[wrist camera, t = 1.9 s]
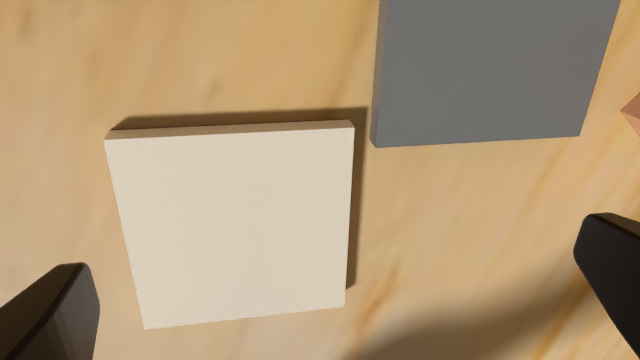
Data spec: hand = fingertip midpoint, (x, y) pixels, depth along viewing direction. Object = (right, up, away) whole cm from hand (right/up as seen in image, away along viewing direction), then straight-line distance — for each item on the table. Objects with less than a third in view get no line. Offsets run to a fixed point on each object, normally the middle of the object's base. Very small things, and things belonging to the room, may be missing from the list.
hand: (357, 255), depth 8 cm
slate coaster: (+7, +8, +11) cm, 15 cm away
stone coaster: (-4, -1, +13) cm, 14 cm away
